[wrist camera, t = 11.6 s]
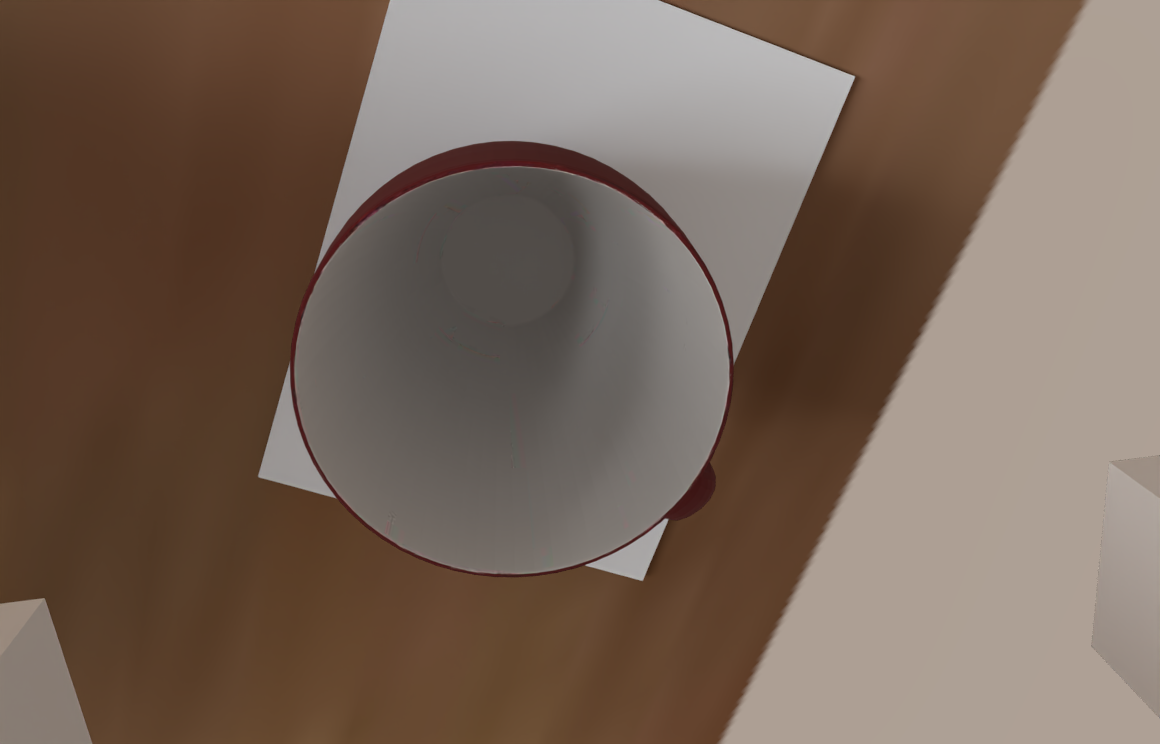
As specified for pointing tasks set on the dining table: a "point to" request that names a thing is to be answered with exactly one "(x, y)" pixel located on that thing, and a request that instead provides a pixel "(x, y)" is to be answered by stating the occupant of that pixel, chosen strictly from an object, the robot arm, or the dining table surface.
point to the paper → (597, 136)
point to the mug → (512, 362)
